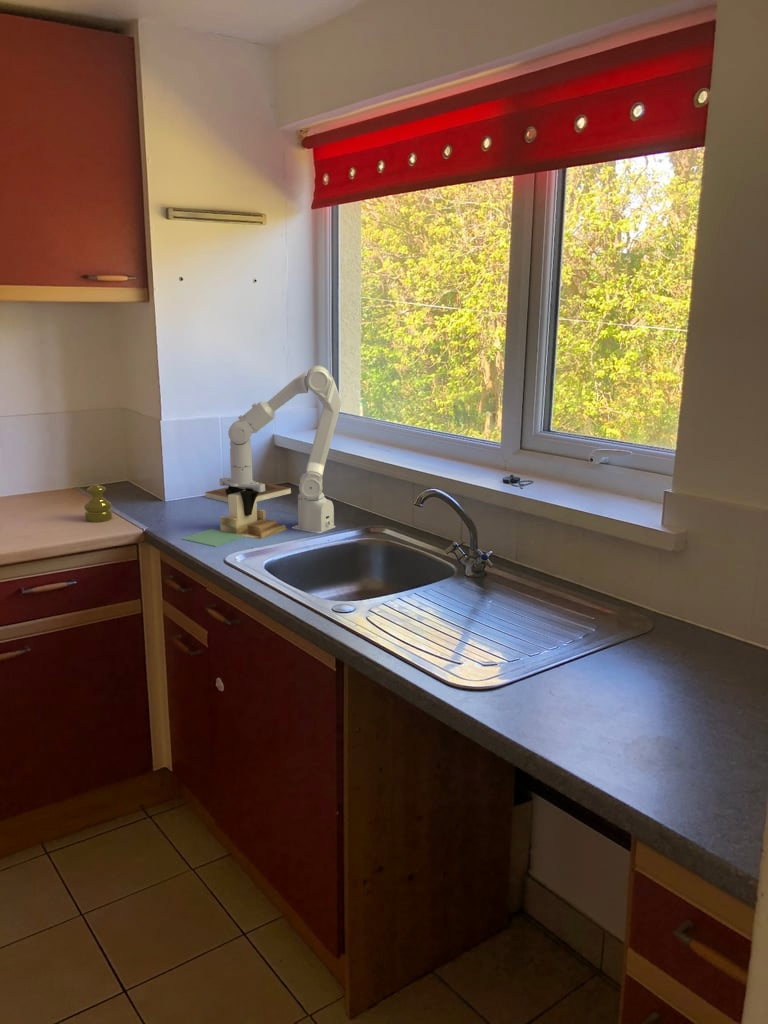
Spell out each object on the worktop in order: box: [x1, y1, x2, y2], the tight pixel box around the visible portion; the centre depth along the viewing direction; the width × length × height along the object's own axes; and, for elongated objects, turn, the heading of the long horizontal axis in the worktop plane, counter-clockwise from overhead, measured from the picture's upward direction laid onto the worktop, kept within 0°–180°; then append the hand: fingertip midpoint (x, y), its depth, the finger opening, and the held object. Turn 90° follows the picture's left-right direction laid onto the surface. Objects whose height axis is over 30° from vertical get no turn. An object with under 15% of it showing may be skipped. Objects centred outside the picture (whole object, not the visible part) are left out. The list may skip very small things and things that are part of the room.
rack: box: [219, 508, 288, 540], centre depth 227 cm, size 14×12×4 cm
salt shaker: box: [83, 483, 113, 523], centre depth 237 cm, size 7×7×10 cm
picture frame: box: [204, 481, 292, 504], centre depth 267 cm, size 16×2×22 cm
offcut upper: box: [247, 518, 279, 532], centre depth 225 cm, size 4×7×1 cm, turn 148°
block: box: [227, 490, 258, 527], centre depth 228 cm, size 3×8×9 cm, turn 148°
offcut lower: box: [248, 524, 281, 536], centre depth 226 cm, size 5×8×1 cm, turn 148°
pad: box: [181, 528, 246, 548], centre depth 220 cm, size 12×11×1 cm
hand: (243, 514), depth 228 cm, fingers closed on block, 3 cm apart
